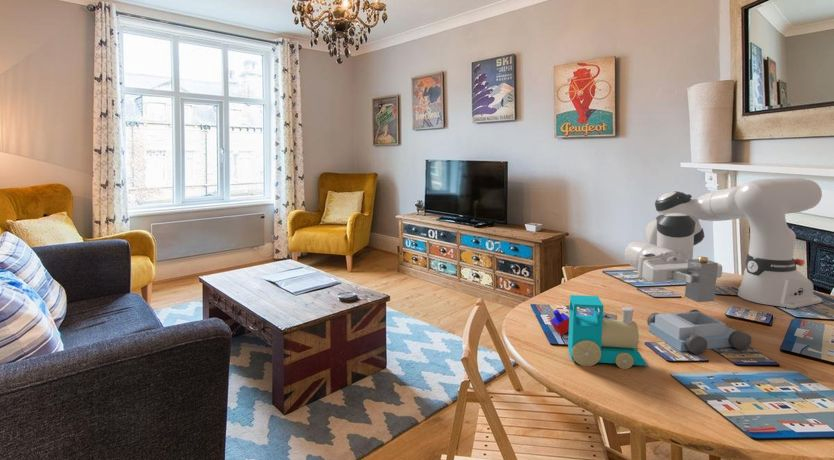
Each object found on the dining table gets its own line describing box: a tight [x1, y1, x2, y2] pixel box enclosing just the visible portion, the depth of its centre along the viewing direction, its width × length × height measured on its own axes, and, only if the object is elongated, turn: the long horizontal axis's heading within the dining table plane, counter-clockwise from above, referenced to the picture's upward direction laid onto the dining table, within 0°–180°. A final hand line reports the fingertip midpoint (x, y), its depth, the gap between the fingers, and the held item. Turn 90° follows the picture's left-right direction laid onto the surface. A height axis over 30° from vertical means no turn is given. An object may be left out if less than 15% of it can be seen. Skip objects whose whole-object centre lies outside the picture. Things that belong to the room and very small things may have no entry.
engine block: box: [684, 256, 719, 303], centre depth 110 cm, size 4×4×11 cm
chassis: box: [646, 309, 752, 355], centre depth 113 cm, size 18×16×6 cm
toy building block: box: [550, 309, 569, 336], centre depth 119 cm, size 4×4×8 cm
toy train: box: [567, 294, 648, 370], centre depth 102 cm, size 8×17×15 cm, turn 78°
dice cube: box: [598, 311, 618, 320], centre depth 118 cm, size 5×5×5 cm
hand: (703, 279), depth 110 cm, fingers closed on engine block, 4 cm apart
